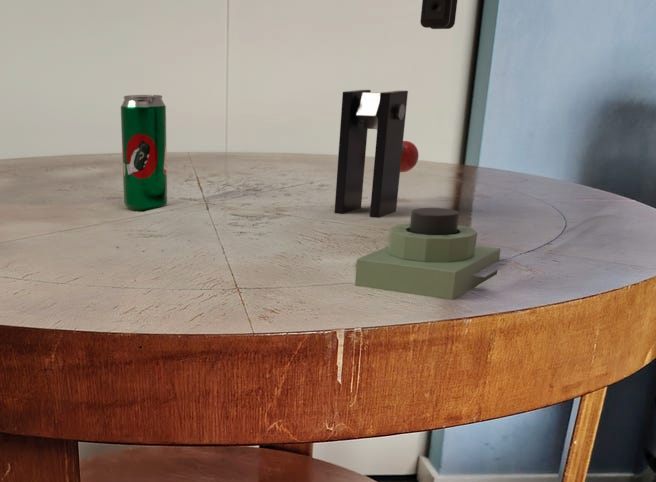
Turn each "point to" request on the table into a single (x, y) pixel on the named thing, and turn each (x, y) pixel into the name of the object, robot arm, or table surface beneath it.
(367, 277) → the control block
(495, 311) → the table surface
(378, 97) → the lever
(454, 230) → the button
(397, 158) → the bracket
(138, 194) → the soda can
